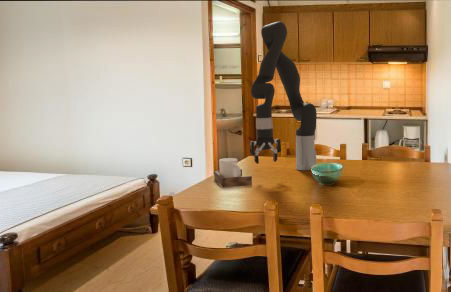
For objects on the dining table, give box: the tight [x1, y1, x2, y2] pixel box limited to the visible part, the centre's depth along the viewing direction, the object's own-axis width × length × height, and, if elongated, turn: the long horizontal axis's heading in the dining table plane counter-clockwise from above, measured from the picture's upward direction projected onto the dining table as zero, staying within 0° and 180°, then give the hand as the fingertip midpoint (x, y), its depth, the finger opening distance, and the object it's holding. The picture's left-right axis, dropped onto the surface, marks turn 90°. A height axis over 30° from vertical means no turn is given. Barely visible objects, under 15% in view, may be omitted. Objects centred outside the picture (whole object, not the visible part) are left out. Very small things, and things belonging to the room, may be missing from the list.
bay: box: [213, 168, 253, 188], centre depth 230 cm, size 13×17×4 cm
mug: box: [218, 157, 241, 178], centre depth 229 cm, size 12×8×10 cm
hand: (266, 162), depth 232 cm, fingers open, 8 cm apart
